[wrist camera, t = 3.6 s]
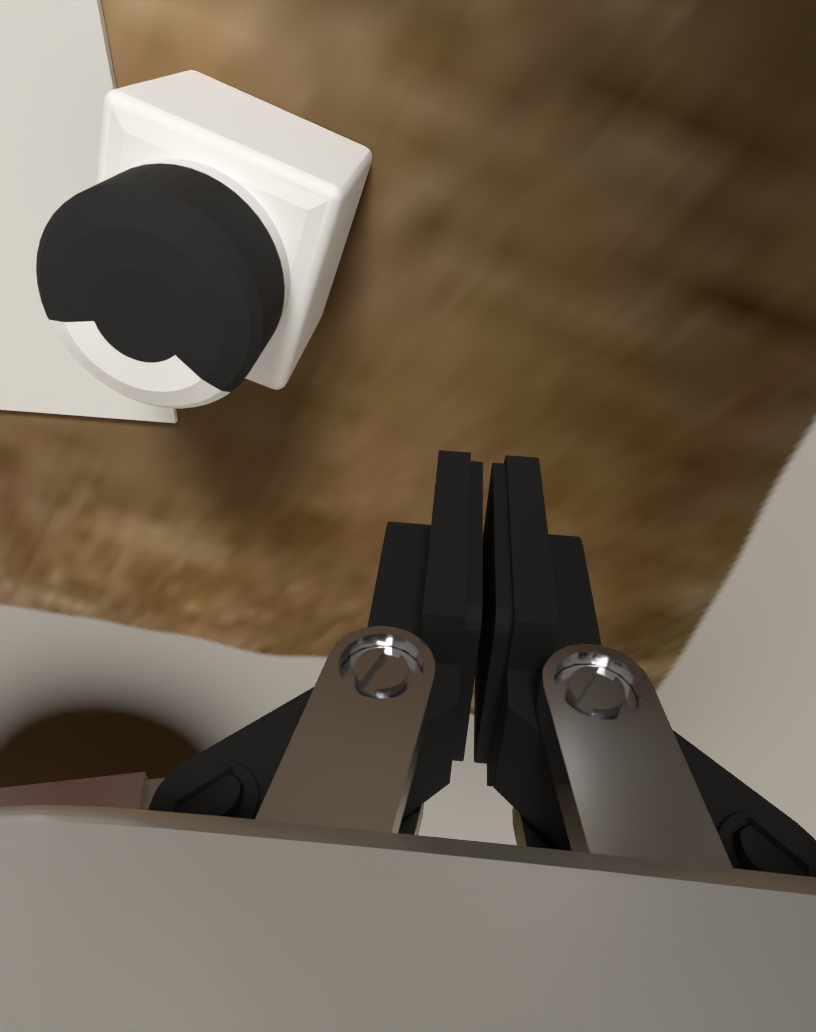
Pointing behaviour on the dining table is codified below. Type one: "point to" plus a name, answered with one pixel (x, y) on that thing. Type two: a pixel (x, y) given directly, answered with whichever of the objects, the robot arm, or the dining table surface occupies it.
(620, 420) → the dining table surface
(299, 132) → the medicine bottle
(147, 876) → the robot arm
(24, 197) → the mat
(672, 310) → the dining table surface
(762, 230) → the dining table surface
